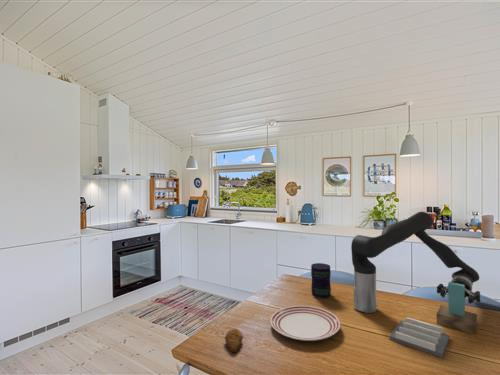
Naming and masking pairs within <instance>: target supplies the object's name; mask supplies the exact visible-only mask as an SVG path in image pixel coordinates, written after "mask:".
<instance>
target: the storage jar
mask: <svg viewBox="0 0 500 375" xmlns="http://www.w3.org/2000/svg"><path fill="white" fill-rule="evenodd" d="M310 267H311V268H310V270H311V271H310V273H311V274H310V276H311V296H313V297H314V298H317V299H328V298H331V295H332V294H331V292H332V287H331V286H332V284H331V276H332V274H331V273H332V272H331V265H329V264H327V263H322V262H320V263H319V262H318V263H312V264H311V265H310Z"/></svg>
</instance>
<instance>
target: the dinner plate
mask: <svg viewBox="0 0 500 375" xmlns="http://www.w3.org/2000/svg"><path fill="white" fill-rule="evenodd" d="M270 325H271V327H272V329H274V330H275V331H276V332H278V333H279V334H281V335H282V336H284V337H287V338H290V339H293V340H298V341H301V342H302V341H304V342H316V341H320V340H321V341H322V340H326V339H328V338H330V337H332V336H334V335H335V334H336V333H338V332H339V330H341V329H340V328H341V321H340V320H339V317H337V316H336V315H335V314H334V313H333V312H331V311H329V310H326V309H324V308H321V307H319V306H310V305H291V306H286V307H283V308H281V309H279V310H276V311H275V312H274V313H273V314H272V315H271V317H270Z"/></svg>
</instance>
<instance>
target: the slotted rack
mask: <svg viewBox="0 0 500 375" xmlns="http://www.w3.org/2000/svg"><path fill="white" fill-rule="evenodd" d="M450 337H451V336H450V334H449V333H444V328H443V327H442V326H439V325H435V324H432V323H428V322H425V321H421V320H418V319H415V318H411V317H408V316H406V317H405V321H404V320H400V321H399V322H398V324H397V325H396V326H395V328H394V330H392V332H391V333H390V334H389V340H392V341H394V342H397V343H400V344H402V345H406V346H409V347H411V348H414V349H417V350H420V351H422V352H424V353H428V354H431V355H434V356H437V357H440V358H443V357H444V354H445V351H446V349H447V346H448V344H449V341H450Z"/></svg>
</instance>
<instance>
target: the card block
mask: <svg viewBox="0 0 500 375" xmlns="http://www.w3.org/2000/svg"><path fill="white" fill-rule="evenodd" d="M447 286H448V295H447V296H448V297H447V298H448V307H449V313H451V314H455V315H459V316H463V317H464V316H465V311H466V299H465V285H463V284H458V283H453V282H451V281H449V282H448V284H447Z"/></svg>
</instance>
